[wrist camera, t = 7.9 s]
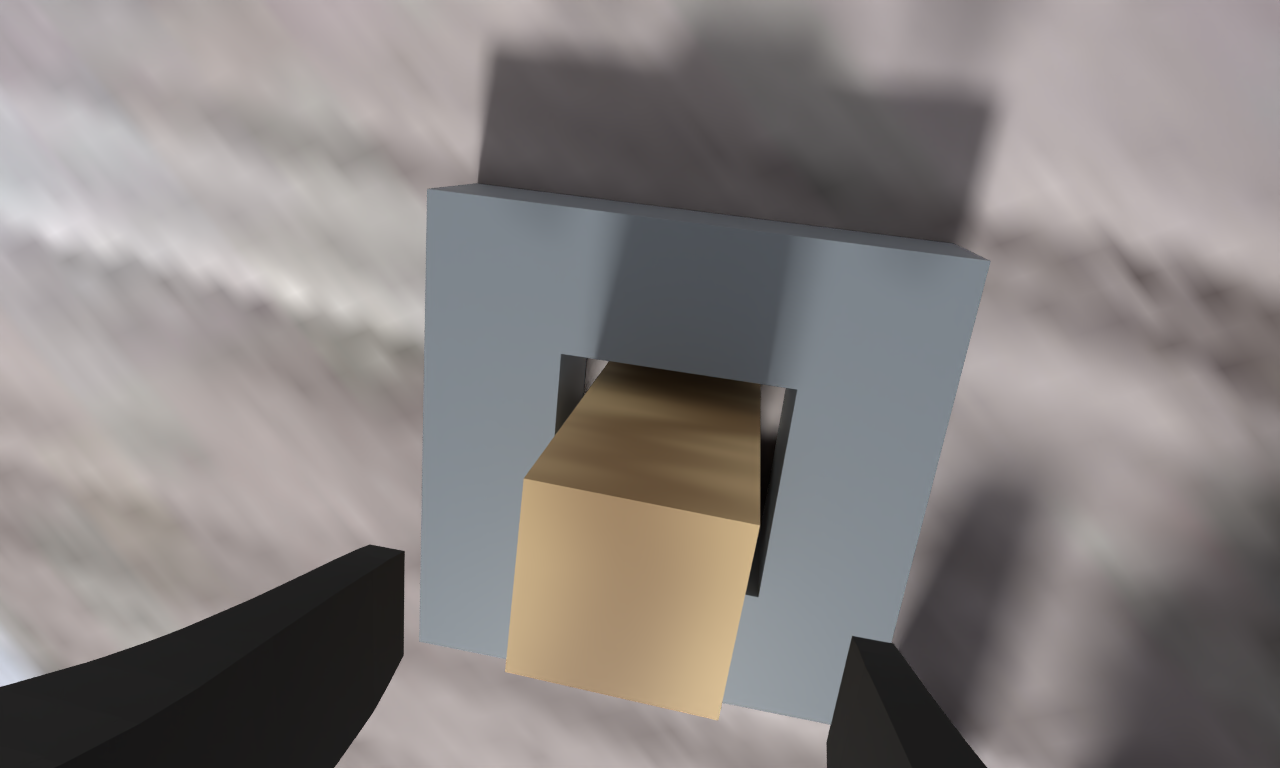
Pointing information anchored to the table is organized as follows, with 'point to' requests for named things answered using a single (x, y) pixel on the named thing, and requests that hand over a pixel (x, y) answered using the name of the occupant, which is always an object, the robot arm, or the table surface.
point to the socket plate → (705, 345)
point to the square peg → (640, 539)
